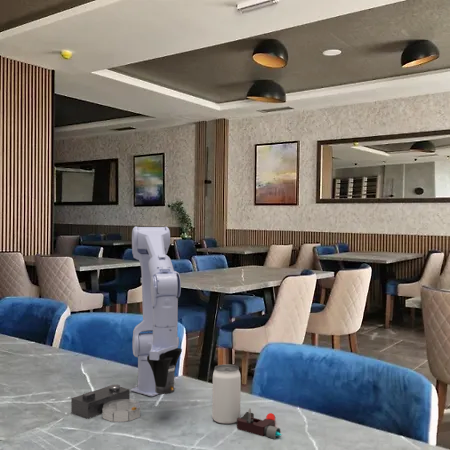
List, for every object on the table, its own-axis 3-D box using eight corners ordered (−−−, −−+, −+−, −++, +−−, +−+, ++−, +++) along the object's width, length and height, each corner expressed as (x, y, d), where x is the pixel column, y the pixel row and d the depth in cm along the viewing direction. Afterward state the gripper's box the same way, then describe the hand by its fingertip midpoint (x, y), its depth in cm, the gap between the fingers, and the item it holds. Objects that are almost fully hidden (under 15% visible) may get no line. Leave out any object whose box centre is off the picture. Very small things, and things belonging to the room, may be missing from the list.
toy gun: (278, 443, 113) (278, 420, 113) (230, 430, 119) (230, 408, 119) (299, 428, 121) (299, 407, 121) (253, 417, 127) (253, 396, 127)
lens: (164, 386, 129) (164, 361, 129) (179, 390, 126) (179, 364, 126) (150, 391, 125) (150, 365, 125) (165, 395, 122) (165, 369, 122)
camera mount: (113, 398, 138) (113, 380, 138) (155, 411, 129) (155, 392, 129) (71, 412, 128) (71, 393, 128) (113, 428, 119) (113, 407, 119)
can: (224, 412, 129) (224, 362, 129) (245, 418, 125) (246, 367, 125) (206, 419, 124) (207, 368, 124) (228, 427, 120) (228, 373, 120)
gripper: (159, 318, 133) (159, 372, 133) (136, 330, 119) (136, 391, 119) (187, 319, 132) (186, 375, 132) (166, 332, 117) (166, 394, 118)
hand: (164, 383), depth 125 cm, fingers closed on lens, 4 cm apart
